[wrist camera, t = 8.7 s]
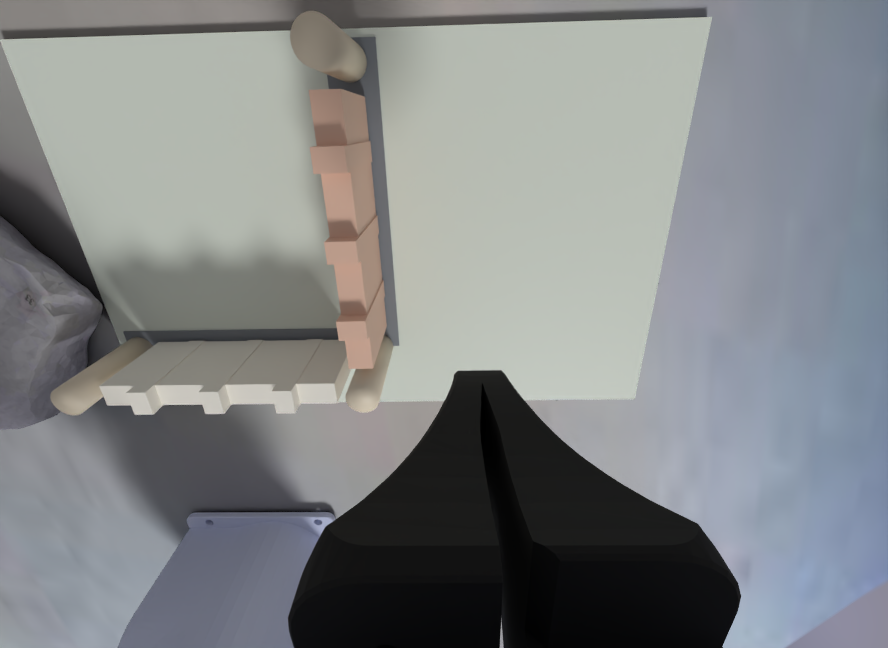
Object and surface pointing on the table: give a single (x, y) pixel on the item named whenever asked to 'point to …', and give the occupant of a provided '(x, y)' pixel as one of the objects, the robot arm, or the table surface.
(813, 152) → the table surface
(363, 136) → the fence panel
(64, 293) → the stone block
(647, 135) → the card
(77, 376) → the fence fixed
